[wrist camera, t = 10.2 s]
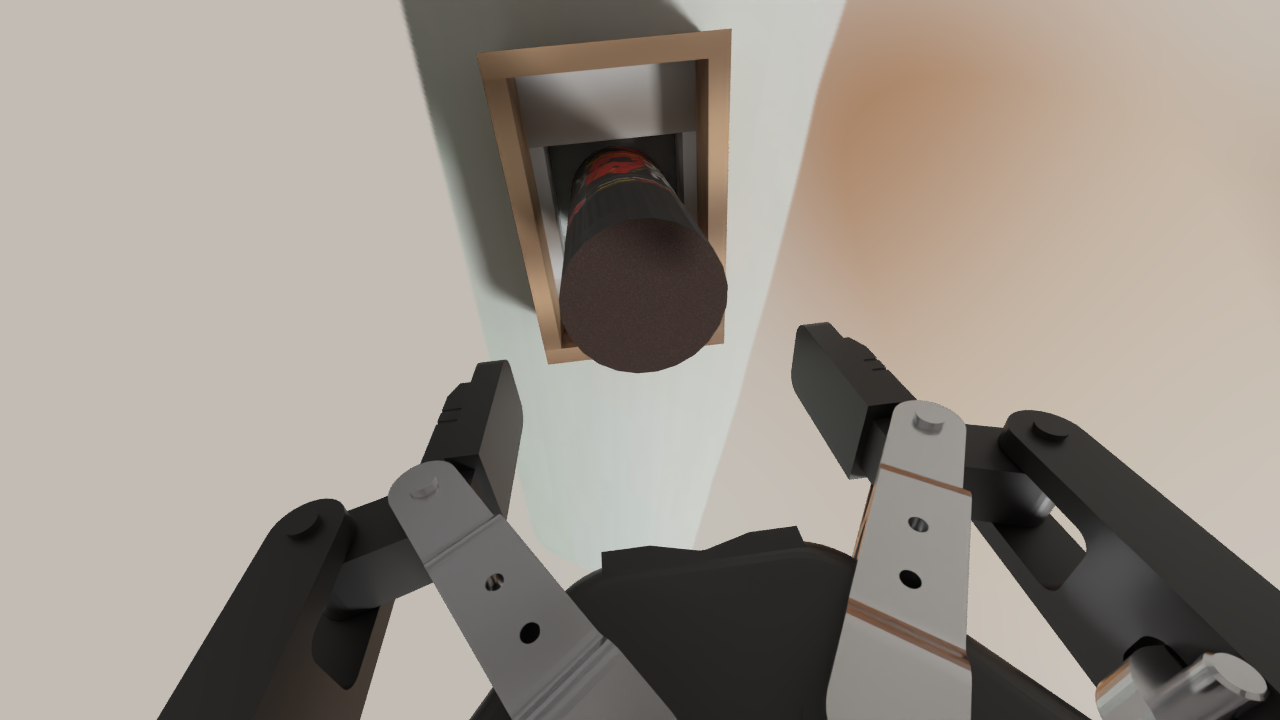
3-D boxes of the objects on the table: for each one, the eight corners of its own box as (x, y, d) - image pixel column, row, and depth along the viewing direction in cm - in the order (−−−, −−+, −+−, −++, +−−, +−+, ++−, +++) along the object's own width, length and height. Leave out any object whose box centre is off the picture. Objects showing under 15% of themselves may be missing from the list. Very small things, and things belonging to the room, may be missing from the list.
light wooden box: (497, 54, 24) (476, 52, 19) (704, 34, 24) (731, 28, 20) (553, 322, 33) (548, 364, 28) (704, 304, 33) (723, 343, 29)
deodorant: (560, 228, 29) (540, 352, 17) (586, 130, 26) (586, 191, 14) (646, 255, 31) (688, 387, 18) (680, 165, 28) (757, 250, 15)
